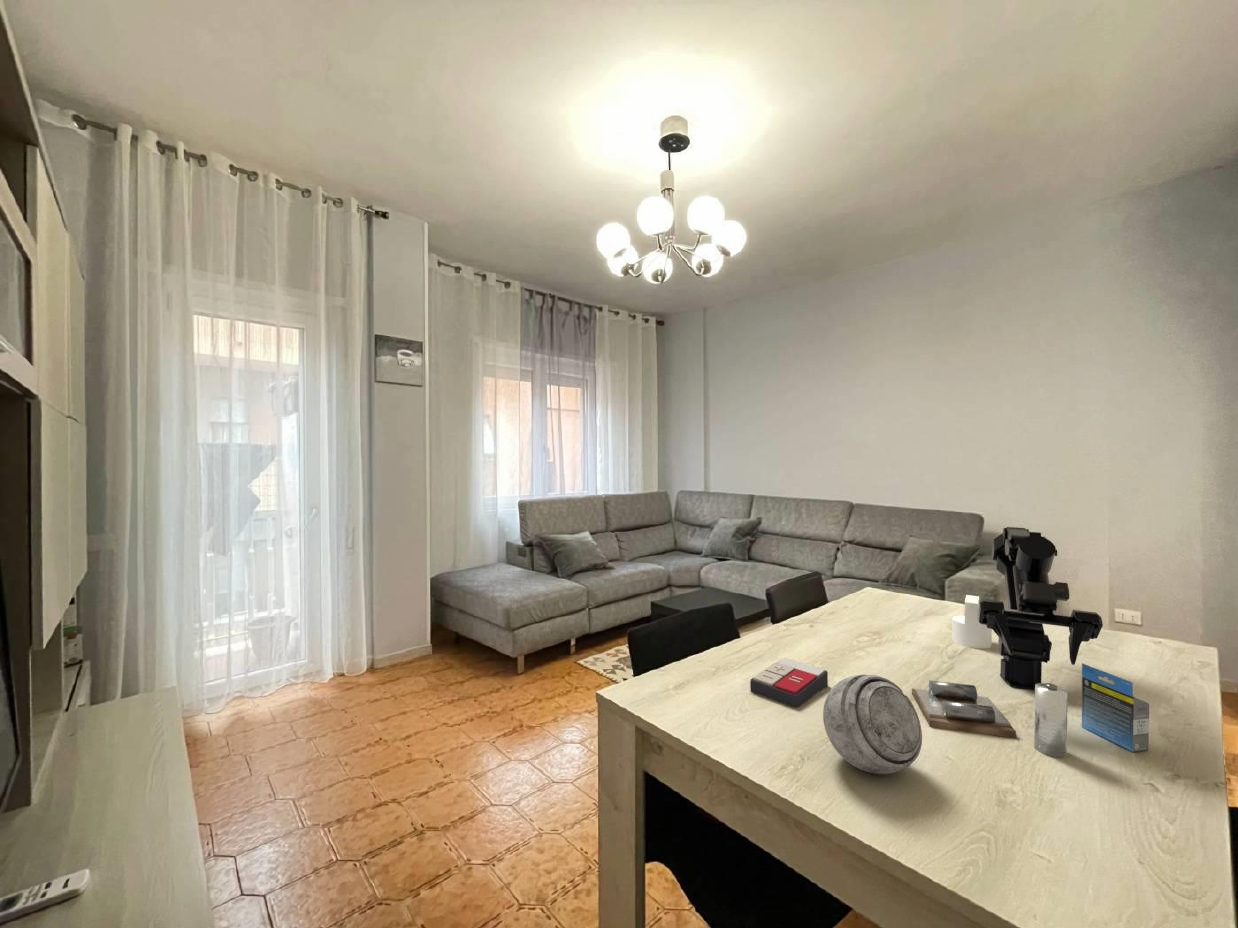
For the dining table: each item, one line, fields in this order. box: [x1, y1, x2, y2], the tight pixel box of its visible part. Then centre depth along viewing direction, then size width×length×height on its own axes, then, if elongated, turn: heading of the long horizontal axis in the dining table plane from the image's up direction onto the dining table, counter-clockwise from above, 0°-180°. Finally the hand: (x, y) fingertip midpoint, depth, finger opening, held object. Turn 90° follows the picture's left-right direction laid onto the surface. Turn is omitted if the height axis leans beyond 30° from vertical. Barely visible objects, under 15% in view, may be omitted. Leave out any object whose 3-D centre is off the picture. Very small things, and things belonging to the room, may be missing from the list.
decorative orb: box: [822, 674, 923, 775], centre depth 88 cm, size 15×14×15 cm
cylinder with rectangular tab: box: [951, 594, 993, 650], centre depth 144 cm, size 9×9×12 cm
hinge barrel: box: [1033, 682, 1069, 759], centre depth 92 cm, size 4×4×12 cm
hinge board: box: [911, 688, 1017, 739], centre depth 105 cm, size 14×14×1 cm
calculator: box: [749, 657, 829, 709], centre depth 117 cm, size 11×4×15 cm
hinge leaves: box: [914, 680, 1012, 727], centre depth 105 cm, size 13×12×3 cm
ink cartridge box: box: [1081, 663, 1150, 753], centre depth 96 cm, size 9×4×12 cm, turn 9°
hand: (1041, 658), depth 99 cm, fingers open, 9 cm apart
